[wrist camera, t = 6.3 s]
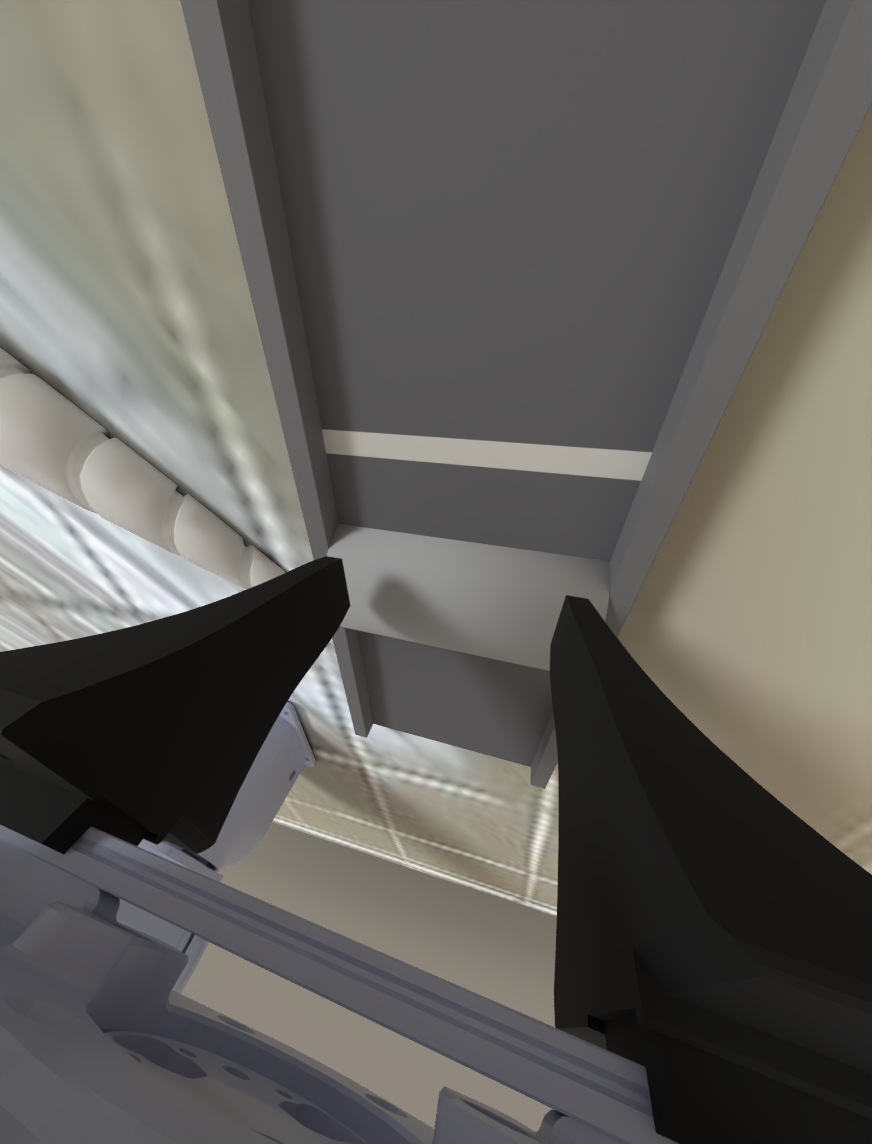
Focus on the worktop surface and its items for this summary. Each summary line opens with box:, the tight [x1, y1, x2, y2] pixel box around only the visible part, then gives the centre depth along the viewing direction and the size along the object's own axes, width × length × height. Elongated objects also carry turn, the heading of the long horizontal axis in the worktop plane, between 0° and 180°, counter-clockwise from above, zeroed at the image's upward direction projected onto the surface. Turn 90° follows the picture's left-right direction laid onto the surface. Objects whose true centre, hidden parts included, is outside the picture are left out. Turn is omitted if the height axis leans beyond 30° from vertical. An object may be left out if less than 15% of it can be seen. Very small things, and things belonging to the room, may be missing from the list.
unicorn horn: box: [0, 347, 286, 589], centre depth 14 cm, size 5×24×5 cm, turn 48°
